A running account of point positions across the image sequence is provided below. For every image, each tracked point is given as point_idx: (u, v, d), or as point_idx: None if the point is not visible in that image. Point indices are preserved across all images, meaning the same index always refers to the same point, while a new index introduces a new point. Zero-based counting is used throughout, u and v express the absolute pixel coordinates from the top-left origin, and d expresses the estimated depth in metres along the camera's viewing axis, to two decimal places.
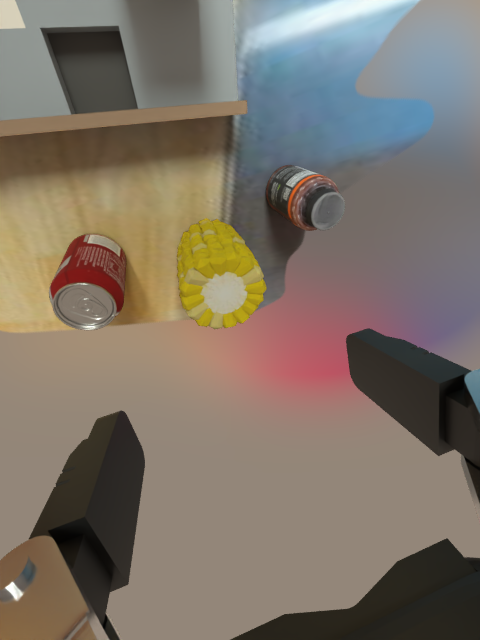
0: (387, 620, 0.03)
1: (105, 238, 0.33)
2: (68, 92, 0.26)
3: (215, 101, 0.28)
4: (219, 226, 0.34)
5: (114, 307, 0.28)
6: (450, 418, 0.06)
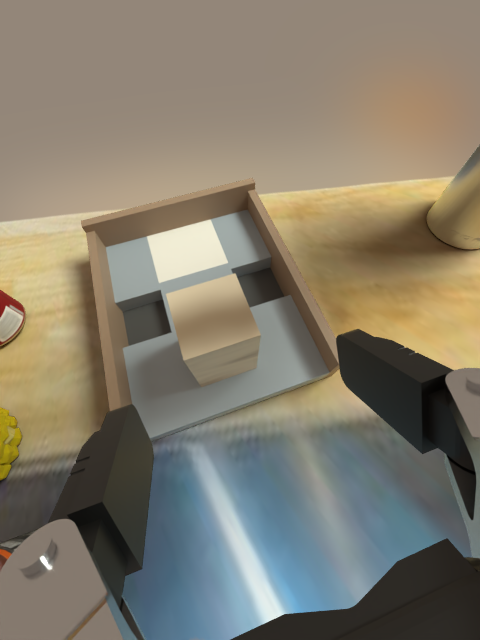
0: (388, 621, 0.03)
1: (15, 327, 0.32)
2: (135, 307, 0.34)
3: None
4: None
5: None
6: (432, 418, 0.07)
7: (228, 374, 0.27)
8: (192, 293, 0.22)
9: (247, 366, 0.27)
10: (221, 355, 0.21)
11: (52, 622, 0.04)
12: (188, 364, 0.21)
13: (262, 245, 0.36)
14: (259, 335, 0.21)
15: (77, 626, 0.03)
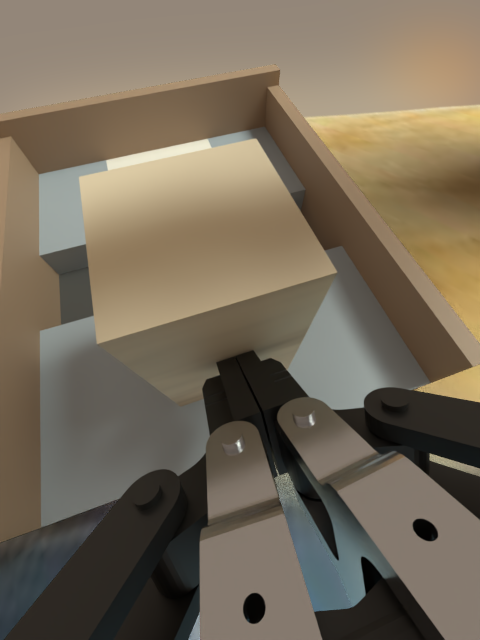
0: (387, 621, 0.03)
1: None
2: (79, 268, 0.21)
3: (42, 469, 0.13)
4: None
5: None
6: (279, 442, 0.07)
7: None
8: (147, 176, 0.09)
9: None
10: (219, 334, 0.08)
11: (238, 493, 0.05)
12: (123, 357, 0.07)
13: (290, 173, 0.22)
14: (332, 274, 0.07)
15: (258, 511, 0.04)
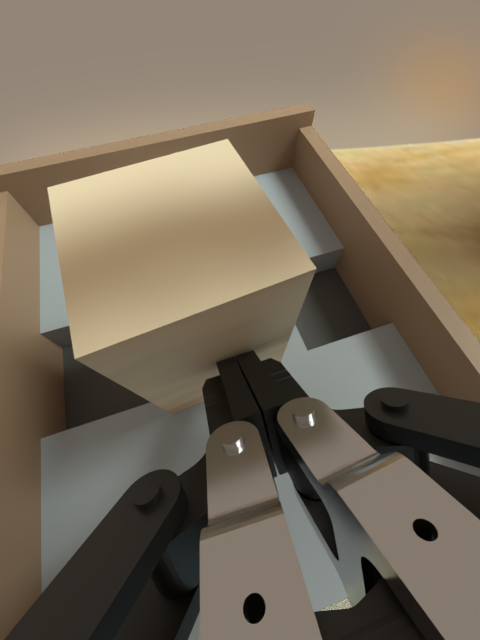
0: (387, 621, 0.03)
1: None
2: None
3: None
4: None
5: None
6: (279, 442, 0.07)
7: None
8: (118, 183, 0.08)
9: None
10: (203, 339, 0.08)
11: (238, 493, 0.05)
12: (105, 370, 0.07)
13: (325, 227, 0.20)
14: (311, 270, 0.07)
15: (259, 511, 0.04)
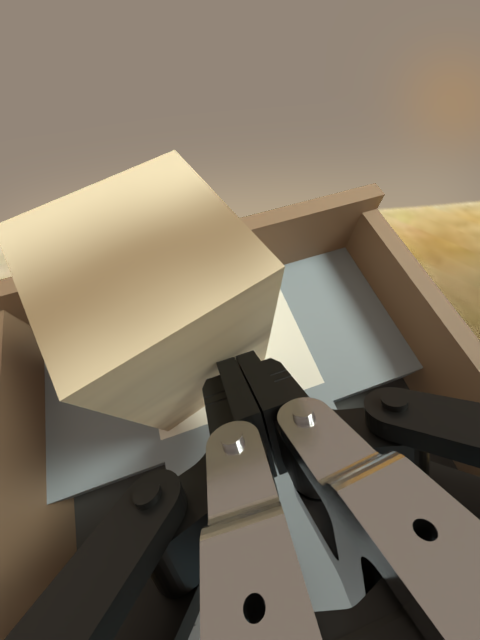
0: (388, 620, 0.03)
1: None
2: (104, 488, 0.15)
3: None
4: None
5: None
6: (278, 442, 0.07)
7: None
8: (70, 210, 0.08)
9: None
10: (188, 353, 0.08)
11: (238, 493, 0.05)
12: (93, 405, 0.07)
13: (395, 335, 0.16)
14: (280, 269, 0.07)
15: (259, 511, 0.04)
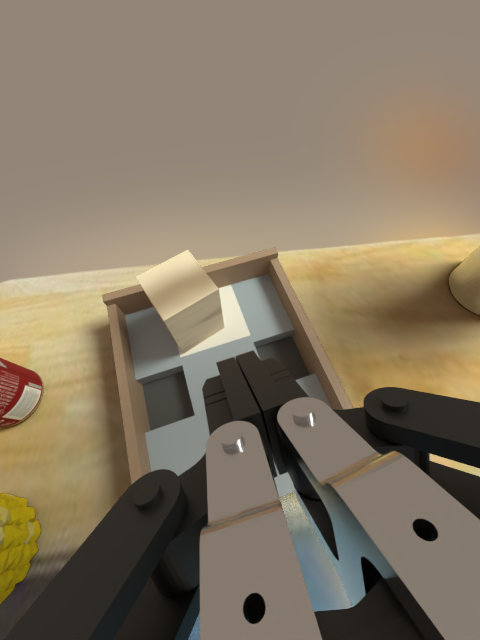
0: (387, 621, 0.03)
1: (33, 403, 0.32)
2: (155, 380, 0.34)
3: None
4: (14, 555, 0.23)
5: None
6: (279, 442, 0.07)
7: (202, 336, 0.33)
8: (157, 271, 0.27)
9: (216, 325, 0.32)
10: (192, 313, 0.27)
11: (238, 493, 0.05)
12: (168, 325, 0.26)
13: (284, 315, 0.35)
14: (217, 289, 0.26)
15: (259, 511, 0.04)
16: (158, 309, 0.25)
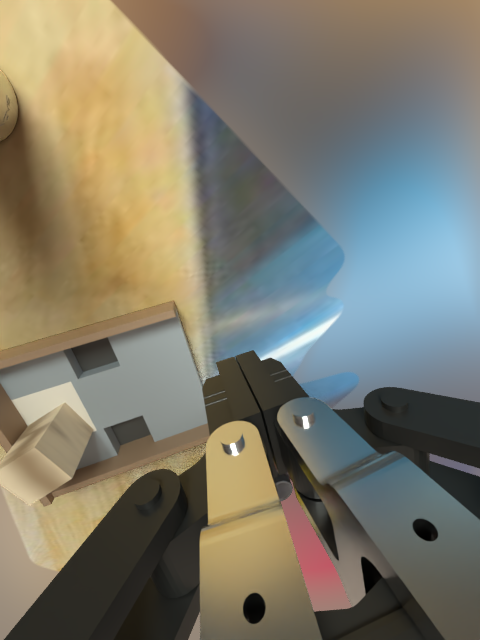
0: (387, 621, 0.03)
1: None
2: (116, 438, 0.45)
3: (199, 425, 0.45)
4: None
5: None
6: (279, 442, 0.07)
7: (76, 421, 0.39)
8: (21, 492, 0.32)
9: (65, 415, 0.38)
10: (60, 454, 0.33)
11: (238, 493, 0.05)
12: (74, 470, 0.34)
13: None
14: (35, 447, 0.31)
15: (259, 511, 0.04)
16: (61, 483, 0.33)
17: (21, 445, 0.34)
